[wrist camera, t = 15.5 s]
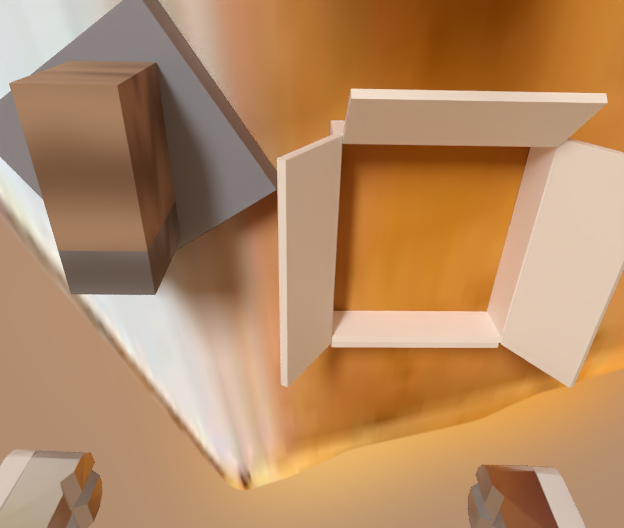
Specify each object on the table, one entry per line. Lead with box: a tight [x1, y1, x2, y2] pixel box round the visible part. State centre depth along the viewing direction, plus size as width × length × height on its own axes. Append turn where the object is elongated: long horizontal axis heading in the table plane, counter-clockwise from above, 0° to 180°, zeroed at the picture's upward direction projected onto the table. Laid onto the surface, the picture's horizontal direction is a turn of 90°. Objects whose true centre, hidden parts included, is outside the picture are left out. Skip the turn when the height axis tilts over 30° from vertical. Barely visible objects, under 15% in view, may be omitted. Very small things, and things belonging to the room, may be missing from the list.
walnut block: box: [9, 60, 181, 295], centre depth 28 cm, size 12×5×7 cm, turn 179°
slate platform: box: [0, 0, 277, 250], centre depth 33 cm, size 14×14×3 cm
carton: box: [277, 89, 624, 388], centre depth 34 cm, size 21×22×9 cm
